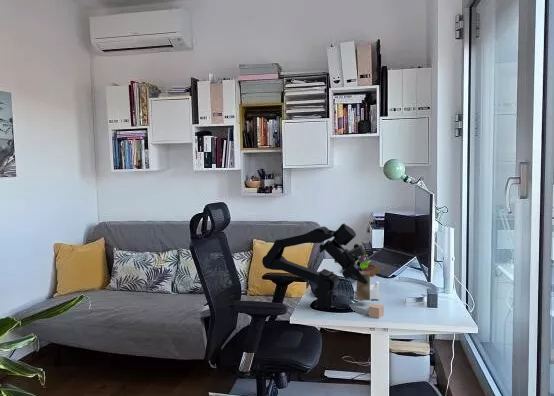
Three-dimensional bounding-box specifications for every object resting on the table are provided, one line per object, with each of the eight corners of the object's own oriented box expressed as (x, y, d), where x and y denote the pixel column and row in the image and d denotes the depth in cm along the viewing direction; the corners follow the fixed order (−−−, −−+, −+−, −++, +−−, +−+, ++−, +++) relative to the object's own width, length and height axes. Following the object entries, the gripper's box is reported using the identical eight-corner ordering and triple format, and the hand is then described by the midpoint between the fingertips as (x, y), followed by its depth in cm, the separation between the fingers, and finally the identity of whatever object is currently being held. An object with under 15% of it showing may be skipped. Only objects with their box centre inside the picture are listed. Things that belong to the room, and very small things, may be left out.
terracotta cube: (379, 318, 173) (378, 308, 173) (369, 316, 175) (368, 306, 175) (383, 315, 176) (383, 305, 176) (373, 313, 178) (373, 303, 178)
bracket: (379, 301, 194) (379, 283, 194) (362, 301, 195) (362, 283, 194) (374, 292, 207) (374, 275, 207) (358, 292, 208) (358, 275, 207)
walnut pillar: (356, 299, 181) (356, 274, 180) (357, 295, 186) (356, 271, 185) (369, 300, 180) (369, 274, 179) (369, 296, 185) (369, 271, 184)
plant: (337, 275, 239) (337, 253, 238) (347, 267, 257) (347, 246, 256) (376, 278, 231) (376, 256, 231) (384, 269, 249) (384, 248, 248)
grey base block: (365, 315, 178) (364, 309, 177) (349, 311, 184) (349, 304, 184) (378, 311, 183) (378, 304, 182) (362, 306, 189) (362, 300, 189)
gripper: (351, 242, 173) (382, 273, 171) (353, 234, 191) (381, 262, 189) (330, 263, 175) (360, 293, 174) (334, 253, 193) (361, 280, 192)
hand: (366, 281), depth 182 cm, fingers closed on walnut pillar, 5 cm apart
